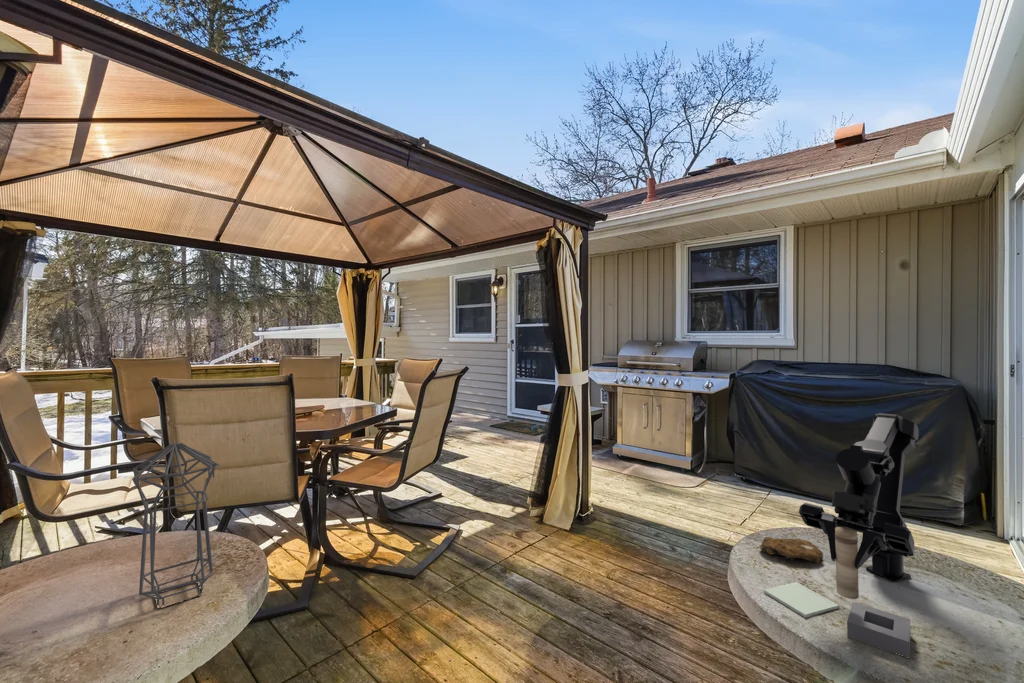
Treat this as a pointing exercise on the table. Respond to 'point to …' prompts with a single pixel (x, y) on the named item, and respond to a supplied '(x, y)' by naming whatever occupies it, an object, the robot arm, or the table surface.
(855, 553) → the plug
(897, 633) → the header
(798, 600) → the mat
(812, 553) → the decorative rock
